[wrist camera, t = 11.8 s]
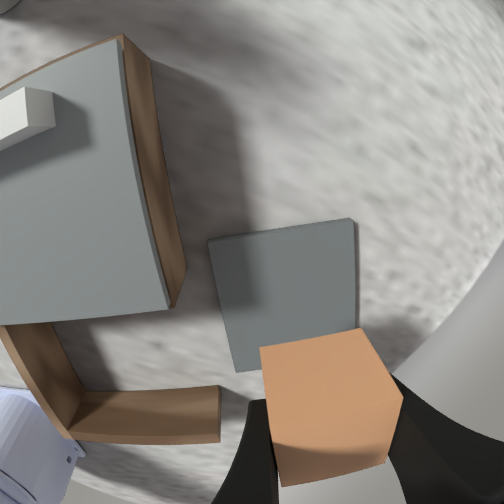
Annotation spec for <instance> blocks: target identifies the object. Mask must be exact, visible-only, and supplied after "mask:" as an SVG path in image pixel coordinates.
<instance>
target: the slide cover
mask: <svg viewBox="0 0 504 504" xmlns="http://www.w3.org/2000/svg"><path fill="white" fill-rule="evenodd" d="M170 303H171V302H170V298H169V295H168V291H167V288H166V284H165V280H164V277H163V273H162V269H161V265H160V262H159V258H158V254H157V250H156V246H155V242H154V237H153V233H152V229H151V225H150V220H149V216H148V211H147V207H146V202H145V197H144V193H143V188H142V183H141V178H140V172H139V167H138V162H137V156H136V151H135V145H134V139H133V133H132V127H131V120H130V113H129V106H128V99H127V92H126V83H125V75H124V66H123V56H122V45H121V42H120V41H118V40H117V39H114V40H111V41H108V42H105V43H103V44H100V45H97V46H94V47H92V48H89V49H86V50H84V51H81V52H79V53H76V54H74V55H72V56H69V57H67V58H65V59H62V60H60V61H58V62H56V63H53V64H51V65H49V66H47V67H45V68H43V69H41V70H39V71H37V72H35V73H33V74H31V75H29V76H27V77H25V78H23V79H21V80H19V81H18V82H16V83H14V84H12V85H10V86H9V87H7V88H5V89H4V90H2V91H0V325H12V324H27V323H41V322H53V321H65V320H76V319H87V318H97V317H107V316H116V315H125V314H134V313H143V312H151V311H159V310H167V309H168V308H169V306H170Z"/></svg>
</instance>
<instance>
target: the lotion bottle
mask: <svg viewBox="0 0 504 504" xmlns="http://www.w3.org/2000/svg"><path fill="white" fill-rule="evenodd" d="M19 1H20V0H0V14H2V13H5V12H6V11H8V10H10V9H11V8H12V7H14V6H15V5H16V4H17V3H18V2H19Z"/></svg>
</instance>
